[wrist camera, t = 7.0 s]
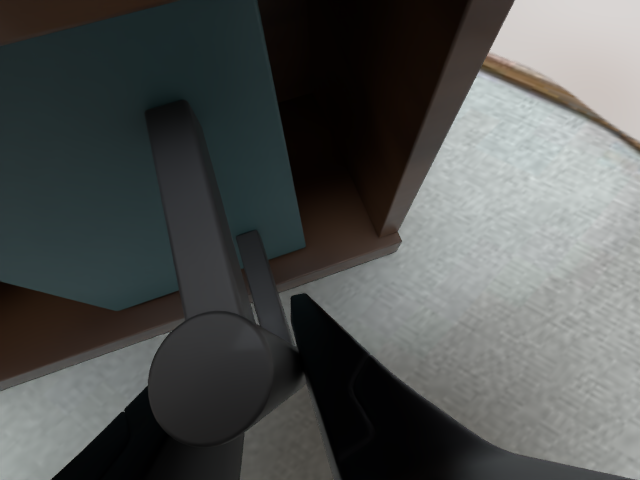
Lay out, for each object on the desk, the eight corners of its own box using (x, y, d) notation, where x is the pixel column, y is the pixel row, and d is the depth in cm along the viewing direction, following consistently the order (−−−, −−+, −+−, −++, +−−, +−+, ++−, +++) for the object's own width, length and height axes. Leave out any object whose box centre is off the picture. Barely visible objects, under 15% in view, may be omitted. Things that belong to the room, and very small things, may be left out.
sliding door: (350, 367, 13) (435, 377, 2) (134, 450, 12) (-1084, 979, 2) (301, 232, 15) (236, -69, 5) (114, 294, 14) (-472, 102, 4)
